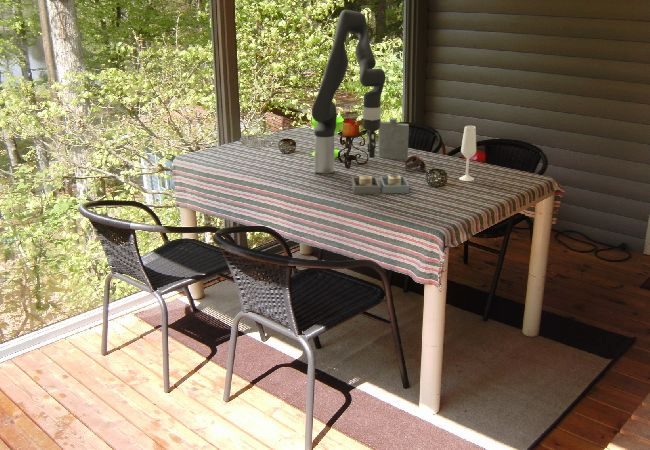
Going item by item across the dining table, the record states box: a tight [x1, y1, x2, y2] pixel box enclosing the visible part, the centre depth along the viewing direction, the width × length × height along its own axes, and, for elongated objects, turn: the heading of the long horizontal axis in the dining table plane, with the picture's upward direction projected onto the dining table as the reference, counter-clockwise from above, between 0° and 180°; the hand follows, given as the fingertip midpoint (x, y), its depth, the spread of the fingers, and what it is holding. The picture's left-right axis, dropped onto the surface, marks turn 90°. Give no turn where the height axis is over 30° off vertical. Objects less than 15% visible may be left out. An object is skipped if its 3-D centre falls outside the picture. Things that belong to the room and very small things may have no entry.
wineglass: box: [311, 116, 345, 159], centre depth 370 cm, size 16×16×18 cm
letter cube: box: [387, 174, 402, 186], centre depth 317 cm, size 5×5×5 cm
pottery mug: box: [404, 155, 427, 172], centre depth 346 cm, size 12×10×8 cm
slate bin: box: [379, 176, 410, 194], centre depth 317 cm, size 11×14×4 cm
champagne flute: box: [458, 125, 477, 182], centre depth 328 cm, size 7×7×24 cm
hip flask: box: [377, 117, 410, 161], centre depth 364 cm, size 16×4×20 cm, turn 60°
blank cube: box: [358, 175, 372, 186], centre depth 316 cm, size 5×5×5 cm
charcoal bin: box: [351, 176, 381, 195], centre depth 317 cm, size 11×14×4 cm
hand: (370, 154), depth 312 cm, fingers open, 8 cm apart
